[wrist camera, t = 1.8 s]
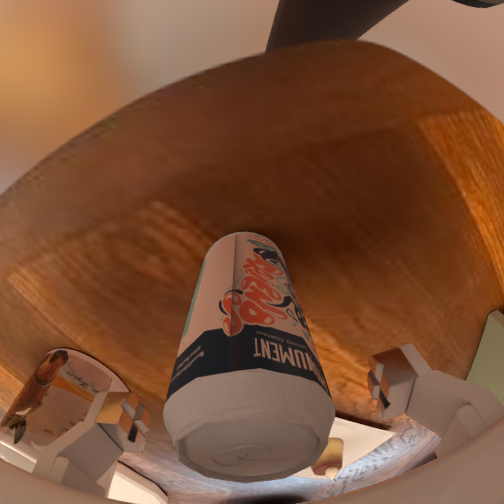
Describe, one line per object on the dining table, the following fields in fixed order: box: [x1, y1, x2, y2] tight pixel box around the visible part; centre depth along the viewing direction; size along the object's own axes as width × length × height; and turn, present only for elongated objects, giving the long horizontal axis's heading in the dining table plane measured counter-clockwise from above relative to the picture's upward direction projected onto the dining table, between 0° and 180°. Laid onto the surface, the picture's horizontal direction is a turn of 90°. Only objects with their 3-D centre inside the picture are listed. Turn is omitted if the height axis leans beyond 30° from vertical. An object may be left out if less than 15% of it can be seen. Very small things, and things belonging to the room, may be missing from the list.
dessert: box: [292, 417, 396, 481], centre depth 23 cm, size 12×12×5 cm
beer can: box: [163, 232, 335, 483], centre depth 11 cm, size 5×5×12 cm
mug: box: [0, 348, 129, 498], centre depth 16 cm, size 10×12×11 cm
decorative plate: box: [108, 462, 168, 504], centre depth 28 cm, size 25×4×25 cm
